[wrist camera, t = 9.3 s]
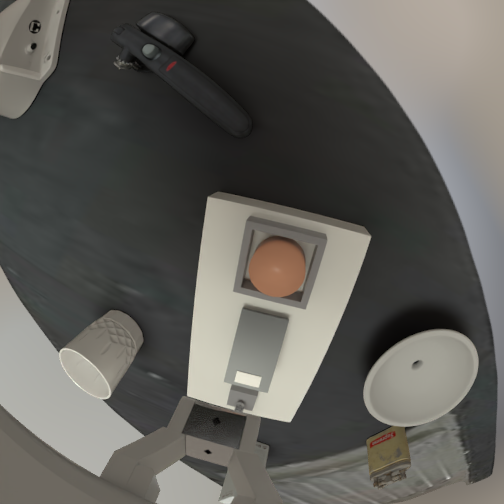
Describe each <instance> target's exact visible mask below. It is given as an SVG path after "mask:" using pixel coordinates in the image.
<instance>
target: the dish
mask: <svg viewBox="0 0 504 504" xmlns="http://www.w3.org/2000/svg"><path fill="white" fill-rule="evenodd" d="M417 360H419V361H418V362H417V363H415V364H413V363H414V362H415V361H417ZM477 371H478V355H477V351H476V348H475V346H474V344H473V343H472V342H471V340H470V339H469V338H468V337H466V336H465V335H463V334H461V333H460V332H457V331H454V330H449V329H432V330H427V331H423V332H419V333H416V334H414V335H411V336H409V337H407V338H405V339H403V340H401V341H400V342H398V343H396V344H395V345H394V346H392V347H391V348H390V349H388V350H387V351H386V352H385V353H384V354H383V355H382V356H381V357H380V358H379V359H378V360H377V361H376V363H375V364H374V365H373V367H372V368H371V370H370V371H369V373H368V375H367V378H366V381H365V384H364V390H363V397H364V402H365V405H366V407H367V409H368V411H369V412H370V413H371V414H372V416H374V417H375V418H376V419H377V420H379V421H381V422H383V423H385V424H388V425H393V426H400V427H407V426H416V425H421V424H424V423H427V422H430V421H433V420H435V419H437V418H439V417H441V416H443V415H444V414H446V413H447V412H449V411H450V410H451V409H453V408H454V407H455V406H456V405H457V404H458V403H459V402H460V401H461V400H462V399H463V398H464V397H465V396H466V394H467V393H468V391H469V390H470V388H471V387H472V385H473V383H474V380H475V378H476V375H477Z"/></svg>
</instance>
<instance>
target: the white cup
mask: <svg viewBox="0 0 504 504" xmlns="http://www.w3.org/2000/svg"><path fill="white" fill-rule="evenodd" d="M143 341H144V340H143V334H142V331H141V329H140V328H139V326H138V324H137V323H136V322H135V321H134V320H133V319H132V318H131V317H130V316H129V315H127V314H125V313H123V312H121V311H119V310H110V311H109V312H107V313H106V314H104V315H103V316H102V317H101V318H100V319H98V320H96V321H95V322H93V323H92V324H91V325H89V326H88V327H87V328H86V329H85V330H83V331H82V332H81V333H80V334H79V335H77V336H76V337H75V338H74V339H73V340H72V341H71V342H69V343H68V344H67V345H66V346H65V347H64V348H62V349H61V350H60V352H59V358H60V362H61V364H62V366H63V368H64V370H65V372H66V373H67V374H68V376H69V377H70V378H71V380H73V381H74V383H75V384H76V385H77V386H79V387H80V388H81V389H82V390H84V391H85V392H86V393H88V394H90V395H92V396H94V397H96V398H99V399H108V398H109V397H110V396H111V394H112V393H113V391H114V389H115V388H116V386H117V385H118V383H119V382H120V380H121V379H122V377H123V376H124V374H125V373H126V371H127V370H128V368H129V366H130V365H131V363H132V361H133V360H134V358H135V355H136V354H137V352H138V351H139V349H140V348H141V346H142V344H143Z"/></svg>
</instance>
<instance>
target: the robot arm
mask: <svg viewBox="0 0 504 504" xmlns="http://www.w3.org/2000/svg"><path fill="white" fill-rule="evenodd" d="M68 4H69V0H17V1H15V2H14V3H12V4H11V5H10V6H8V7H7V8H6V9H5V10H3V11H2V12H1V13H0V115H2V116H5V117H8V118H11V119H15V118H18V117H19V116H21V115H22V114H23V113H24V112H25V111H26V110H27V109H28V108H29V106H30V105H31V104H32V102H33V100H34V99H35V97H36V95H37V93H38V91H39V89H40V87H41V86H42V84H43V82H44V81H45V80H46V79H47V78H48V77H49V76H50V75H51V74H52V72H53V71H54V69H55V68H56V65H57V60H58V53H59V47H60V41H61V35H62V30H63V25H64V21H65V16H66V12H67V8H68ZM260 421H261V418H260V417H258V416H253V415H248V414H246V413H241V412H237V411H233V410H228V409H225V408H220V407H216V406H213V405H209V404H206V403H203V402H200V401H197V400H194V399H191V398H188V397H185V396H183V397H182V398H181V400H180V402H179V404H178V406H177V408H176V410H175V412H174V414H173V416H172V418H171V420H170V422H169V425H168V427H167V428H165V427H162V428H160V429H158V430H156V431H155V432H153V433H151V434H149V435H147V436H145V437H143V438H141V439H139V440H137V441H135V442H133V443H131V444H129V445H127V446H125V447H122V448H120V449H118V450H116V451H114V453H113V455H112V457H111V458H110V460H109V462H108V463H107V465H106V467H105V469H104V470H103V472H102V474H101V476H100V477H98V476H96V475H95V474H93V473H91V472H89V471H87V470H86V469H84V468H83V467H81V466H79V465H78V464H76V463H74V462H73V461H71V460H70V459H68V458H67V457H65V456H63V455H62V454H61V453H59V452H58V451H56V450H55V449H53V448H52V447H51V446H49V445H48V444H46V443H45V442H44V441H42V440H41V439H40V438H38V437H37V436H36V435H35V434H33V433H32V432H31V431H30V430H28V429H27V428H26V427H25V426H24V425H22V424H21V423H20V422H19V421H18V420H16V419H15V418H14V417H13V416H12V415H11V414H10V413H9V412H8V411H6V410H5V409H4V408H3V407H2V406H1V405H0V504H157V503H155V502H156V500H157V497H158V495H159V492H160V488H159V485H158V482H157V479H156V475H157V474H158V473H160V472H161V471H163V470H164V469H166V468H168V467H169V466H171V465H172V464H174V463H175V462H177V461H178V460H179V459H181V458H182V457H184V456H185V455H188V456H192V457H195V458H199V459H202V460H207V461H209V462H213V463H216V464H219V465H223V466H227V467H228V470H229V473H230V476H231V479H232V481H233V484H234V486H235V489H236V492H237V494H238V496H236V497H234V499H233V500H232V502H231V503H230V504H282V502H283V501H282V499H281V498H280V496H279V494H278V492H277V490H276V488H275V487H274V485H273V483H272V481H271V479H270V477H269V475H268V473H267V471H266V469H265V467H264V465H263V463H262V461H261V459H260V457H259V455H258V454H256V453H254V451H255V446H256V441H257V436H258V431H259V426H260Z"/></svg>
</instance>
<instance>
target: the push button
mask: <svg viewBox="0 0 504 504" xmlns="http://www.w3.org/2000/svg"><path fill="white" fill-rule="evenodd" d="M249 276H250V279H251V282H252V283H253V285H254V286H255V287H256V288H257V289H258V290H259V291H260V292H262V293H263V294H266V295H268V296H272V297H284V296H288V295H290V294H292V293H294V292H295V291H297V290H298V289H299V288H300V286H301V285H302V283H303V281H304V279H305V254H304V251H303V249H302V248H301V246H300V245H299V244H298V243H297V242H296V241H295V240H293V239H290V238H286V237H282V236H272V237H269V238H267V239H265V240H263V241H262V242H261V243H260V244H259V245H258V247H257V248H256V250H255V252H254V254H253V257H252V259H251V261H250V264H249Z"/></svg>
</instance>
